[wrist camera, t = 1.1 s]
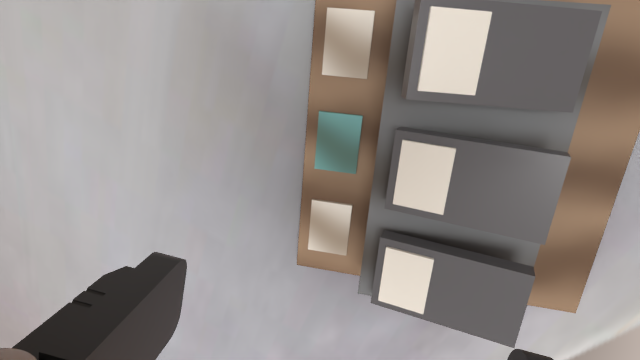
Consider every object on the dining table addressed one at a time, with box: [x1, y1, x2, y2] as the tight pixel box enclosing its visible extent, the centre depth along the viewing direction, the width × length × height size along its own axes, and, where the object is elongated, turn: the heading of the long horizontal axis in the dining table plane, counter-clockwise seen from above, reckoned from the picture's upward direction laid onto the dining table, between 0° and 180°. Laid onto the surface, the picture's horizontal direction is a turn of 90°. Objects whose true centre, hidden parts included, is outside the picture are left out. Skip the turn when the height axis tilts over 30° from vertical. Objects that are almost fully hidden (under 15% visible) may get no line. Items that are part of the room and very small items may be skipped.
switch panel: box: [297, 0, 640, 313], centre depth 27 cm, size 22×22×5 cm
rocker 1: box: [401, 0, 602, 113], centre depth 21 cm, size 5×9×2 cm, turn 85°
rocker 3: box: [371, 230, 535, 348], centre depth 25 cm, size 5×9×2 cm, turn 85°
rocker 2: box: [384, 127, 571, 245], centre depth 23 cm, size 5×9×2 cm, turn 85°
